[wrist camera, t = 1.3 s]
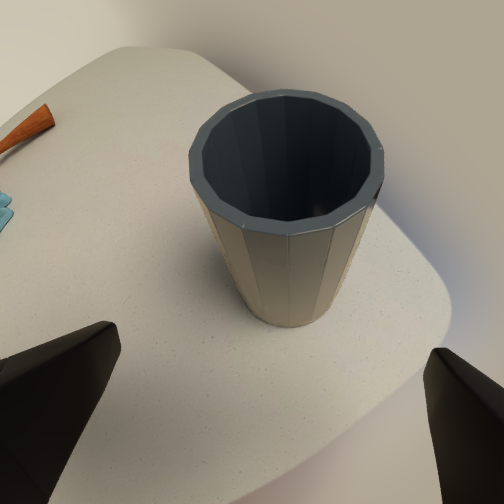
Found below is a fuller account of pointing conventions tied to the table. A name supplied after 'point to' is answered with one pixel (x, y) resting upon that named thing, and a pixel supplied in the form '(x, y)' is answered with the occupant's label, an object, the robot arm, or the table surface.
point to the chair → (4, 209)
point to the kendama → (28, 128)
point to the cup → (287, 197)
